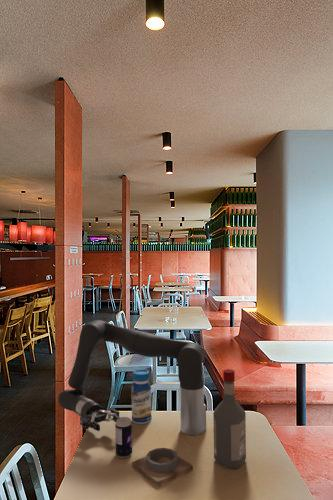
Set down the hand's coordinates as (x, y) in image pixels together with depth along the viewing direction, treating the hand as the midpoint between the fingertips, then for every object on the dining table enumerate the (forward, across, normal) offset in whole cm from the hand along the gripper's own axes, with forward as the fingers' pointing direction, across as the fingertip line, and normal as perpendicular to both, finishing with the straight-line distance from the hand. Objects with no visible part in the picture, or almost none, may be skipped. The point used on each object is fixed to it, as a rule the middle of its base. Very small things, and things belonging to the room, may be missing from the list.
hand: (109, 424), depth 143 cm
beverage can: (+10, 0, +7) cm, 12 cm away
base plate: (+25, +5, +7) cm, 26 cm away
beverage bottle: (-8, +20, +7) cm, 23 cm away
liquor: (+36, +25, +7) cm, 44 cm away
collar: (+25, +5, +6) cm, 26 cm away
